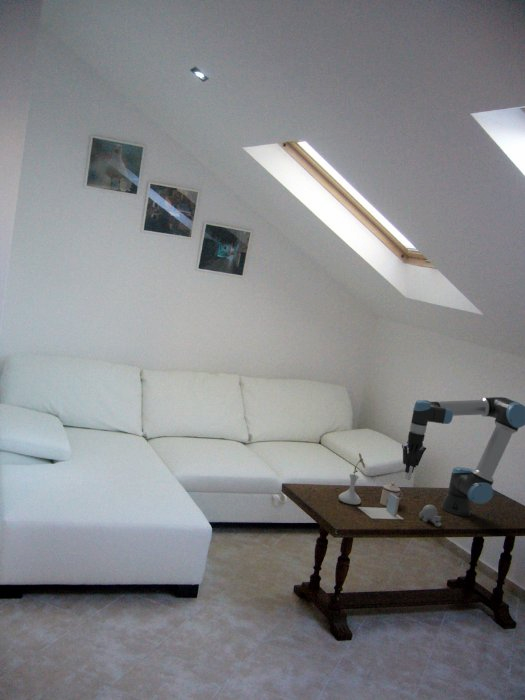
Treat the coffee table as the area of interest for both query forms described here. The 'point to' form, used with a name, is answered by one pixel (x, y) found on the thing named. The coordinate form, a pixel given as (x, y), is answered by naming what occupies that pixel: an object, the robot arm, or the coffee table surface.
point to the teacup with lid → (389, 489)
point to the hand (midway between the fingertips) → (407, 479)
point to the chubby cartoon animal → (430, 515)
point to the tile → (392, 504)
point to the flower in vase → (352, 488)
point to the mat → (378, 513)
